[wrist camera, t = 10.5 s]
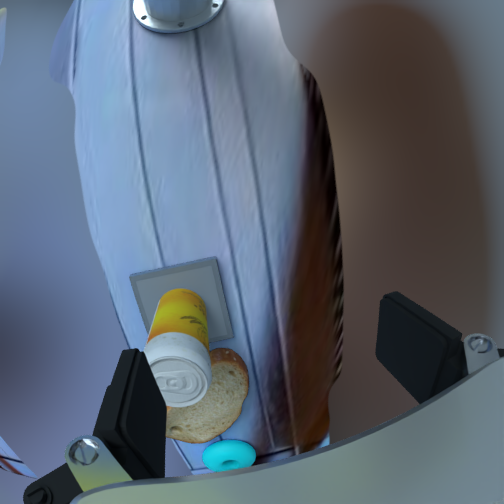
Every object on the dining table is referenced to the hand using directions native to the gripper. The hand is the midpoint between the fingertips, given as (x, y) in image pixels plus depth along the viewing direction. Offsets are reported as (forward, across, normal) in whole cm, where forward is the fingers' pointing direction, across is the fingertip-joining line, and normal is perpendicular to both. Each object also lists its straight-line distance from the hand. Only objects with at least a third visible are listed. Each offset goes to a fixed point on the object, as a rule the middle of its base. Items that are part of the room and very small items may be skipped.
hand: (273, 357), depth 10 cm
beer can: (+24, +6, +8) cm, 26 cm away
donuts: (+24, +6, +41) cm, 48 cm away
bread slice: (+25, +8, +25) cm, 37 cm away
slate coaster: (+25, +6, +9) cm, 28 cm away
